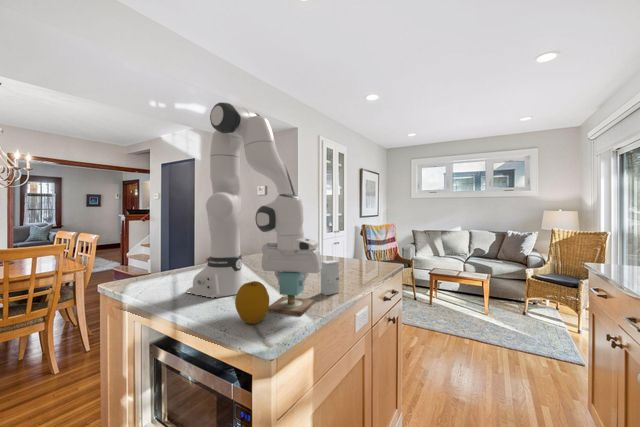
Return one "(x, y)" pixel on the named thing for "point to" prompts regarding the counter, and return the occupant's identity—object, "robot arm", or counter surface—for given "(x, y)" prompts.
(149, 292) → the counter surface
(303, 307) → the tan plate with disc
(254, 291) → the apple
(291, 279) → the teal cube box
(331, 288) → the skincare box
